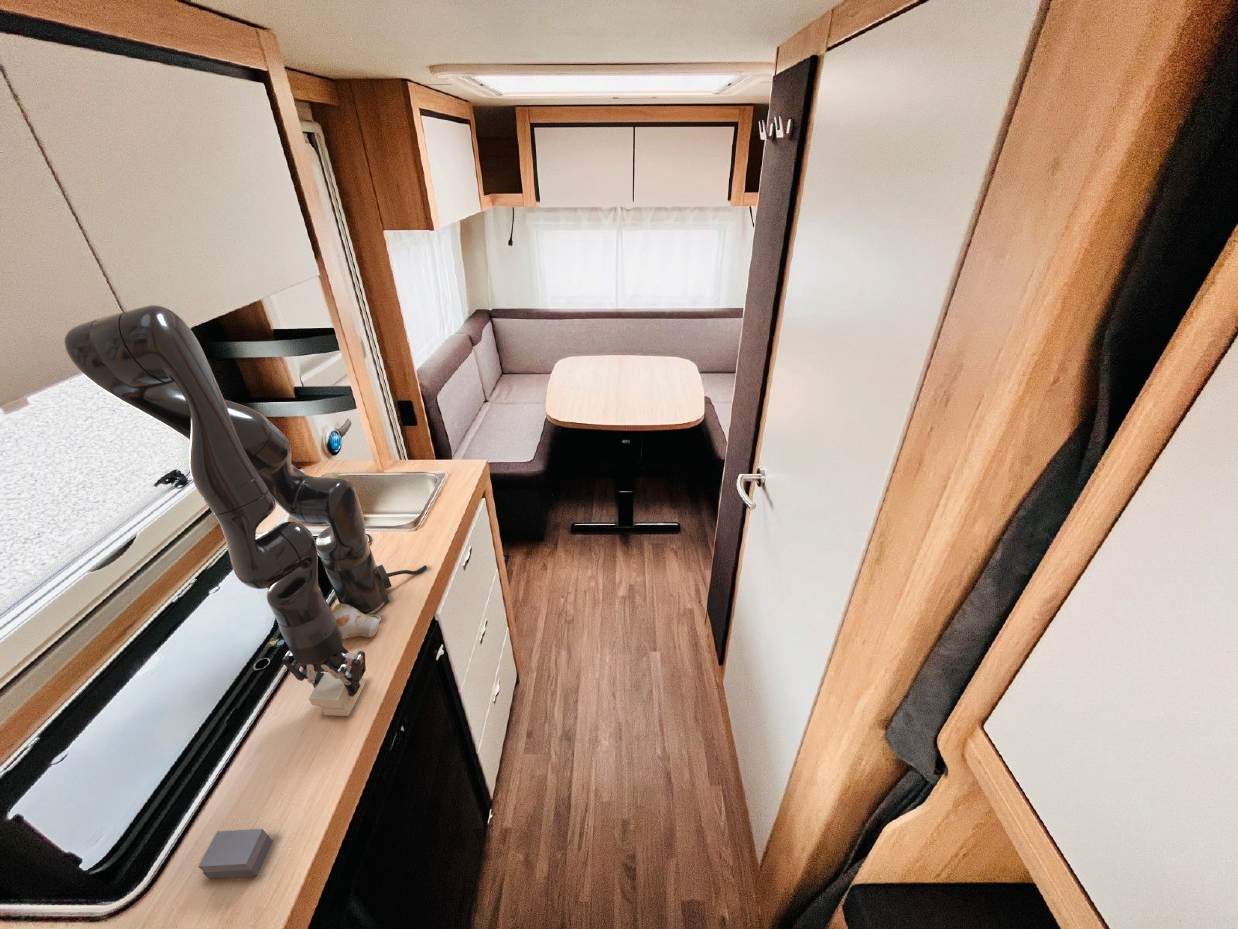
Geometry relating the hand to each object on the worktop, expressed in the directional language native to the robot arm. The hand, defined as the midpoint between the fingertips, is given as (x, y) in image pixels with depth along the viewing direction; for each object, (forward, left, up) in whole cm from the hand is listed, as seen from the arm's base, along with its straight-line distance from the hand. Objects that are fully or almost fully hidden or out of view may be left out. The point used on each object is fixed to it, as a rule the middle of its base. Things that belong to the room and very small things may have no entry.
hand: (339, 691), depth 93 cm
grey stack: (+18, +18, -3) cm, 25 cm away
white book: (0, 0, +1) cm, 1 cm away
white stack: (0, 0, -3) cm, 3 cm away
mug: (-6, -15, -3) cm, 16 cm away
